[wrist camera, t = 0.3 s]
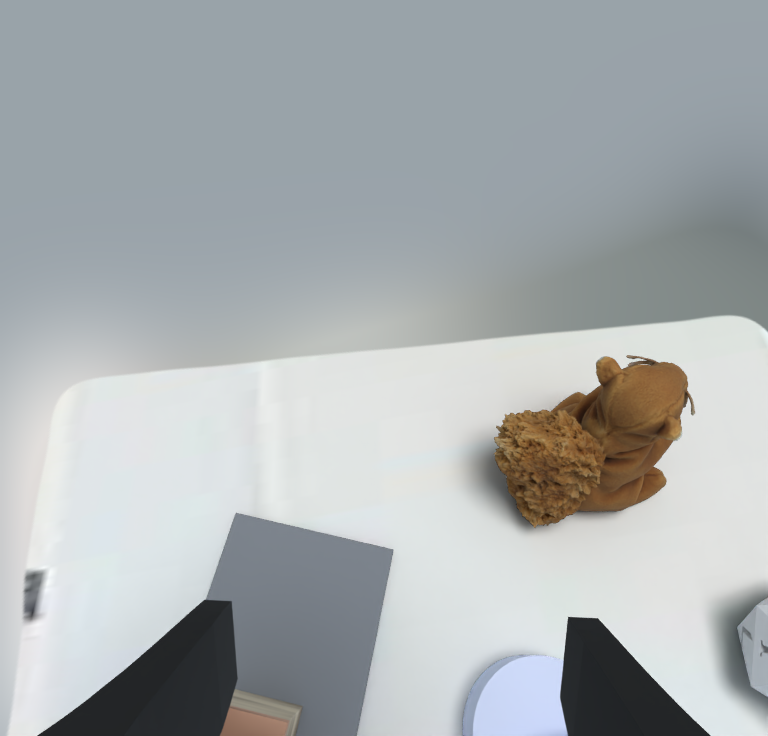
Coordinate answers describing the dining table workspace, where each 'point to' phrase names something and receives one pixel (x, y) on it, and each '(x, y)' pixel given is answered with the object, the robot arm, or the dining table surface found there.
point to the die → (756, 646)
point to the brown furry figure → (595, 443)
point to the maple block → (260, 716)
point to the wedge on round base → (517, 699)
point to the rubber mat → (303, 617)
